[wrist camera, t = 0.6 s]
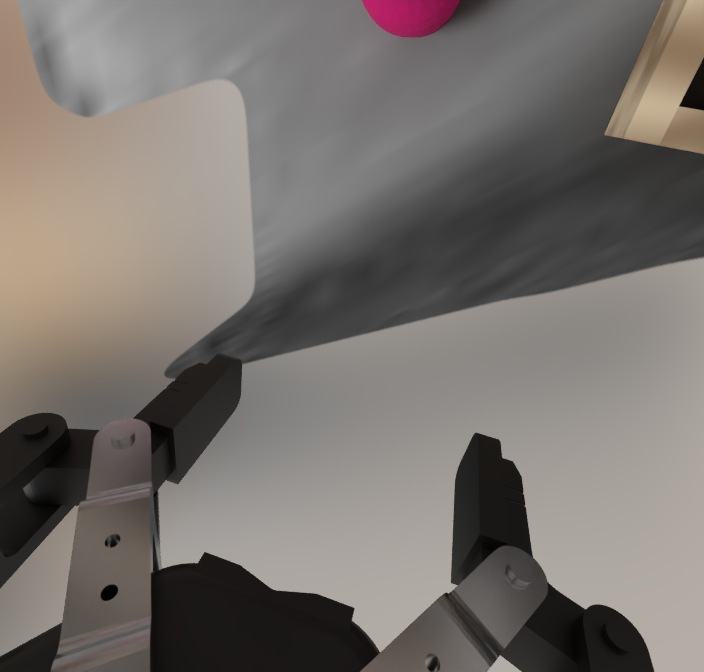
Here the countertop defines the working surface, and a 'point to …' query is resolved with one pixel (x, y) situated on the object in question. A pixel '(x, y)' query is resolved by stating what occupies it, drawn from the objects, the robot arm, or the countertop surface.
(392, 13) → the pepper mill
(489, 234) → the countertop surface
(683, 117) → the socket block
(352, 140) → the countertop surface
